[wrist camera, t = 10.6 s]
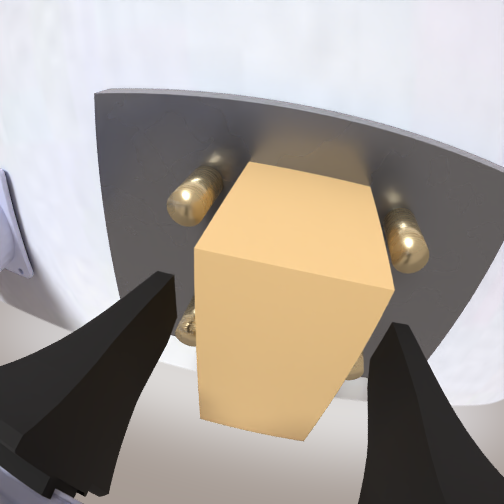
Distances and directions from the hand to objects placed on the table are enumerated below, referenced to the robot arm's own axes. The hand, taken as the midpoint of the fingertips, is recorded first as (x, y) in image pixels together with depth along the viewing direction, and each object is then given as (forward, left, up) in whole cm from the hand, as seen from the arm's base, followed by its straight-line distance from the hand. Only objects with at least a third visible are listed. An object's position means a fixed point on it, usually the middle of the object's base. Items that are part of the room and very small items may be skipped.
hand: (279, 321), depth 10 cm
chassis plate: (0, 0, -4) cm, 4 cm away
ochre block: (0, 0, -3) cm, 3 cm away
